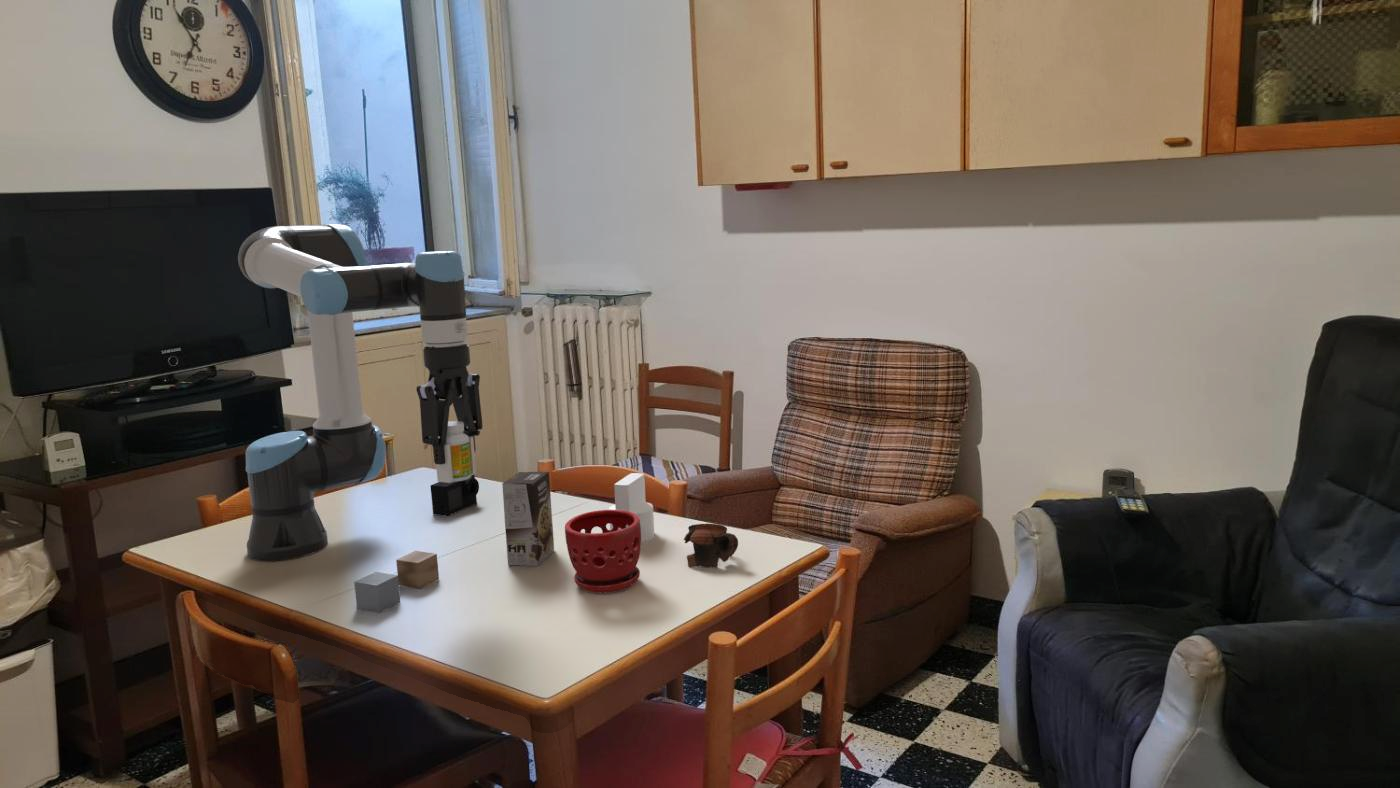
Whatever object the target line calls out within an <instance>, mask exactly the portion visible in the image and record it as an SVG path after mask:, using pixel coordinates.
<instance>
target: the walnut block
mask: <svg viewBox="0 0 1400 788" xmlns="http://www.w3.org/2000/svg"><path fill="white" fill-rule="evenodd" d="M395 561H396V573H397V575H398V582H399V585H400V586H399V587H404V586H405V587H406V588H412V589H418V590H422V589H423V588H425V587H428V586H429V585H431V584H433V583H435V582H437V581H439V580H440V577H439V576H440V574H439V564H438V554H437V553H433V552H426V551H419V550H414V551H412V552H409V553H408V554H405V555H403V556H401V557H399V558H396V559H395ZM438 579H439V580H438ZM436 580H437V581H436Z"/></svg>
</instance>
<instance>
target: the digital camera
mask: <svg viewBox="0 0 1400 788" xmlns="http://www.w3.org/2000/svg"><path fill="white" fill-rule="evenodd" d="M479 490H480V483H479V481H478V479H476V477H475V474H472V476H471V477H470V478H469V479H467V480H463V481H457V482H451V483H446V482H438V481H437V482H435V483H433V484H430V494H431V495H430V496H431V504H432V505H431V506H432V507H431V508H432V515H434V514H436V516H442V515H446V516H445V517H449V516H451V514H452V515H454V514H456V513H458V511H459V512H460V510H461V511H463V510H465V509H467V508H470V507H472V506H474V505H476V504H478V501H477V499H478V498H477V495H478V493H479ZM455 512H456V513H455ZM453 513H454V514H453Z"/></svg>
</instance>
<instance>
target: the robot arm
mask: <svg viewBox="0 0 1400 788" xmlns="http://www.w3.org/2000/svg"><path fill="white" fill-rule="evenodd" d="M237 261H238V267H239V268H240V269H239V270H240V271H241V272H242V274H243V276H244V277H245V278H246V279H248V280H249V281H250V282H252V283H254V284H255V285H258V286H259V287H262V288H265V289H266V288H267V289H277V288H278V289H281V290H283V291H286V292H288V293H290V294H292V295H296V296H297V297H299V298H301V300H302V303H303V305H304V307H305V308H306V310H307V318H308V319H307V320H308V329H309V336H310V345H311V353H312V363H313V372H314V380H315V390H316V398H317V407H318V415H319V416H318V418H317V419H316V420H315V421H314V423H313V424H312V432H313V434H312V435H309V436H308V435H307V433H306V432H305V431H303V430H289V431H286V432H285V431H282V432H277V433H273V434H270V435H266V436H264V437H261V438H259V439H257V440H255V441H253V442H252V443H250V444H249V445H248V447H247V448H246V450H245V472H246V473H247V475H246V476H247V483H248V490H249V497H250V498H249V499H250V505H251V514H252V518H251V524H250V527H249V535H248V539H247V542H246V551H247V557H248V558H250V559H252V560H255V561H260V562H261V561H262V562H272V561H273V562H276V561H287V560H293V559H297V558H302V557H306V556H309V555H312V554H314V553H317V552H318V551H321V550H323V549H325V548H326V546H327V545H328V543H329V541H328V533H327V530H326V529H325V527H324V524H323V522H322V520H321V518H320V516H319V514H318V512H317V510H316V505H315V499H314V498H315V497H314V496H315V495H314V494H315V493H318V492H319V493H320V492H324V491H328V490H333V489H337V488H343V487H346V486H347V487H348V486H351V485H359V484H362V483H364V482H368V481H372V480H374V479H376V478H377V477H378V476H379V475H380V474H381V472H382V471H383V468H384V465H385V461H386V455H387V453H386V452H387V450H386V442H385V441H386V440H385V439H384V437H383V432H382V430H381V428H379V426H378V425H374V424H373V423H372V418H371V417H369V416H368V415H367V414H366V413H365V412H364V409H363V401H362V400H363V398H362V392H361V391H362V389H361V383H360V382H361V381H360V373H359V363H358V355H357V354H358V353H357V344H356V335H355V333H356V332H355V327H354V326H355V325H354V315H353V313H357V312H365V311H378V310H389V309H400V308H401V309H402V308H412V307H413V308H414V307H415V308H416V307H417V308H419V315H420V330H421V341H422V343H423V344H424V345H425V346H424V347H423V348H422V351H423V365H424V367H425V368H426V369H427V370H428V372H429V375H428V380H427V383H425V384H423V385H418V386H416V389H415V390H416V392H417V395H418V399H419V406H420V407H419V408H420V424H421V426H420V427H421V439H422V443H423V444H427V445H430V446H432V452H433V463H434V464H435V466H436V477H437V478H436V479H437V483H438V482H446V483H451V482H453V475H452V463H451V452H450V444H446V438H447V428H448V422H449V418H450V407H451V406H453V409H454V413H455V417H456V419H457V420H456V421H460V422H463V423H464V431H463V434H466V435H467V436H468V437H469V444H470V457H471V471H472V475H475V474H476V473H477V468H476V465H477V464H476V456H475V453H476V438H475V436H477V437H478V436H479V435H480V433H481V430H482V429H483V419H482V417H483V416H482V406H481V396H480V380H481V379H480V378H481V377H480V374H478V373H469V371H468V368H467V366H469V365H470V364H471V353H470V345H469V344H468V343H465V342H466V341H468V339H469V337H468V336H469V335H468V334H469V333H468V323H467V306H466V305H467V303H466V291H465V290H466V287H465V272H464V270H463V263H462V262H463V261H462V256H461V254H460V253H459V252H458V251H454V250H448V251H447V250H441V251H437V250H436V251H426V252H425V251H423V252H418V253H417V254H416V256H415V261H414V262H412V261H405V262H396V263H391V264H388V263H387V264H378V265H377V264H376V265H375V264H373V265H367V257H366V253H365V249H364V247H363V244H362V241H361V239H360V237H359V236H358V235H357V233H356V231H354V230H353V228H351V227H349V226H347V225H345V224H331V223H324V224H307V225H306V224H305V225H304V224H302V225H274V226H268V227H265V228H261V229H259V230H257V231H255V232H253V233H252V234H250V235H249V236H248V237H247V238H246V239H245V240H244V241H243V242H242V243H241V245H240V247H239V251H238V254H237Z"/></svg>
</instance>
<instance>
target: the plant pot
mask: <svg viewBox="0 0 1400 788" xmlns="http://www.w3.org/2000/svg"><path fill="white" fill-rule="evenodd" d="M608 524H609V525H610V524H612V525H613V529H612V530H610V529H608V528H607V525H608ZM626 525H628V527H626ZM593 528H600V529H601V533H600V532H599V533H598V532H597V533H595V532H594V533H593V532H592V530H593ZM618 528H621V530H618ZM582 530H584V532H581V531H582ZM564 534H565V542H566V547H567V552H568V556H569V560H570V562H571V565H572V567H573V569H574V571H575V574H574V576H573V577H574V578H573V579H574V583H575V585H577V587H579V588H580V589H582V590H583V591H586V592H588V593H593V594H611V593H616V592H620V591H621V592H622V591H623V592H624V591H625V590H626V589H628V588H630V587H632V586H633V585H635V584H636V582H637V581H638V580H639V578H640V576H641V574H640V573H641V572H640V569H639V567H637V565H638V562H639V560H640V554H641V547H642V542H641V527H640V520H639V518H638V516H637V515H636V514H634V513H632V512H628V511H623V510H609V509H602V510H593V511H588V512H584V513H581V514H578V515H576V516H574V517H571V519H569V520H568V521H566V523H565V525H564ZM633 542H634V543H633Z"/></svg>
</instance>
